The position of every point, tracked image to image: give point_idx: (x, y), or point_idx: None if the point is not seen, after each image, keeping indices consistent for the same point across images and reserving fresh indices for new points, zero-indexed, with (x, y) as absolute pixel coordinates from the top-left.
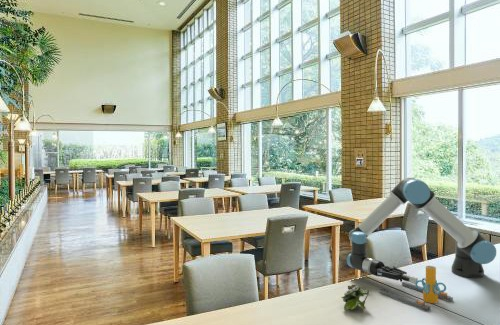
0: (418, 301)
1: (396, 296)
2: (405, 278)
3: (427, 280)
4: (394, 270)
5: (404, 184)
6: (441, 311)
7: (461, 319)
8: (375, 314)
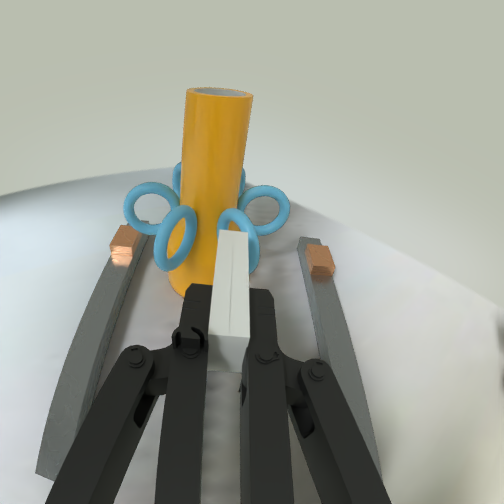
0: (328, 259)
1: (357, 372)
2: (271, 312)
3: (240, 178)
4: (181, 501)
5: None
6: None
7: None
8: (487, 324)
